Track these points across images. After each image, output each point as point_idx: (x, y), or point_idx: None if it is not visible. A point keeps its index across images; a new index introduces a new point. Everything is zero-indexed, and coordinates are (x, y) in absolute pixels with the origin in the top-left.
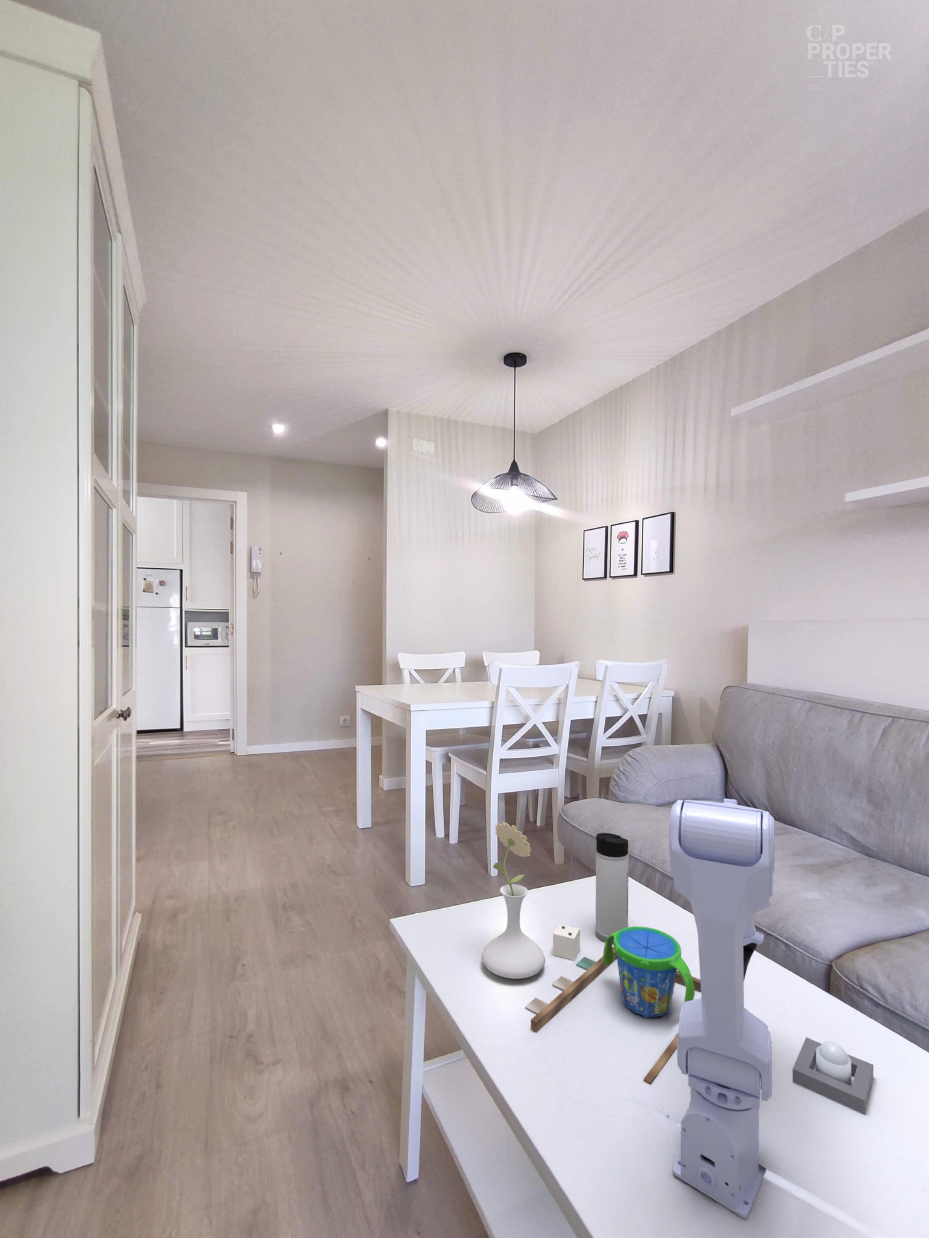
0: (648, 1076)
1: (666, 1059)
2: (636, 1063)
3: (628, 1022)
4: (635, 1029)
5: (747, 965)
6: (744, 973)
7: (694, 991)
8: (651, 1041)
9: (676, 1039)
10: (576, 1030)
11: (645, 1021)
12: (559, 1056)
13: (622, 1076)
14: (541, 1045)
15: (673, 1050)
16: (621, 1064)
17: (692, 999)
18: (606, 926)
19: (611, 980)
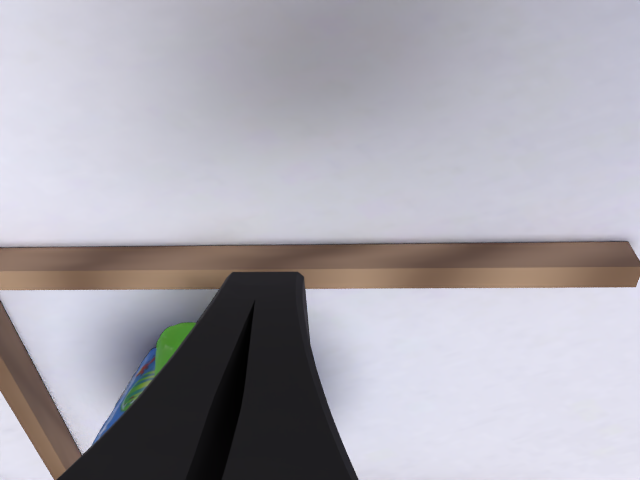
0: (613, 281)
1: (487, 269)
2: (506, 312)
3: (339, 381)
4: (355, 360)
5: (125, 447)
6: (209, 399)
7: (157, 354)
8: (374, 316)
9: (357, 280)
10: (472, 444)
11: None
12: (600, 435)
13: (588, 318)
14: (583, 469)
15: (425, 269)
16: (537, 336)
17: (175, 333)
18: None
19: None
